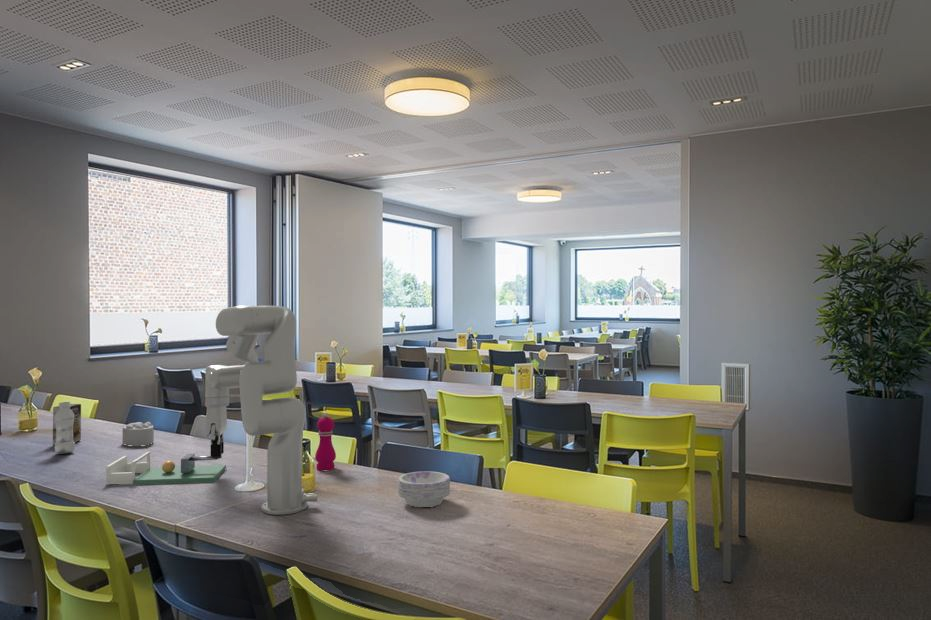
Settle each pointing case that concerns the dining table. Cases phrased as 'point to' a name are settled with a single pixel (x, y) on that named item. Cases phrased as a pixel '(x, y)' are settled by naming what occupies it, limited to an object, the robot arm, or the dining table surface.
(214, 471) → the pitch board
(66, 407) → the plastic bottle
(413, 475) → the paper bowls
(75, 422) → the coffee box
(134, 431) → the lumpy-topped squat cylinder
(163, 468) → the ball
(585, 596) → the dining table surface
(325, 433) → the pepper mill
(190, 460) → the grey mallet
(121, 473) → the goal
